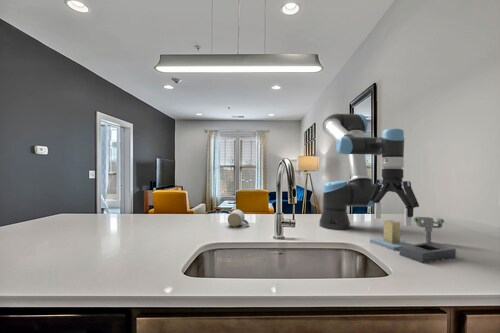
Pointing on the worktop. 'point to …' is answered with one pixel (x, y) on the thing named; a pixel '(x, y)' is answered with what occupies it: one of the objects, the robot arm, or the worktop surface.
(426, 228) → the mechanical component
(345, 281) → the worktop surface
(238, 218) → the ceramic mug
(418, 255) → the grey recessed block
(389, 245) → the blue mat
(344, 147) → the robot arm
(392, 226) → the brass block
